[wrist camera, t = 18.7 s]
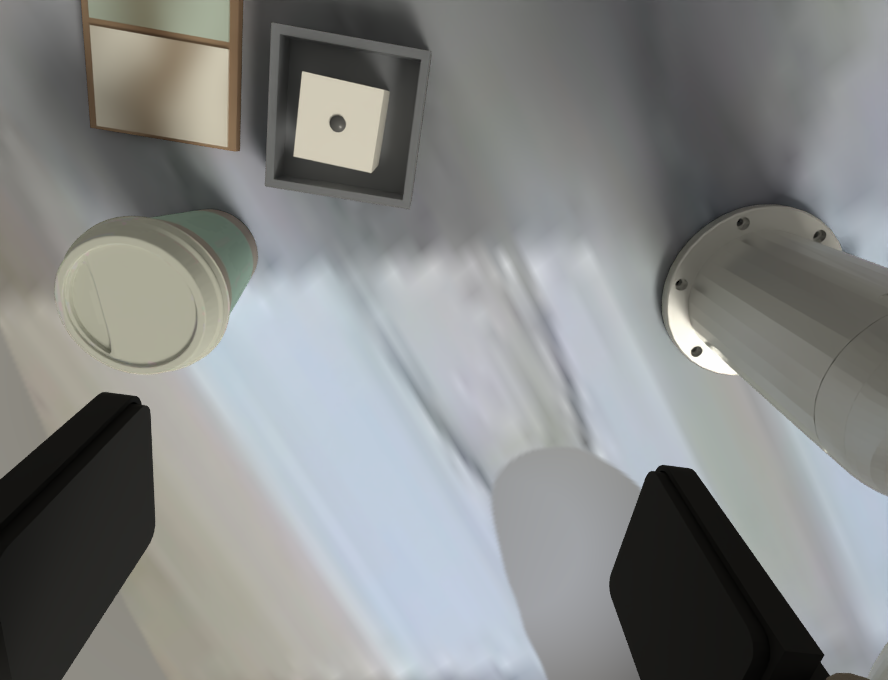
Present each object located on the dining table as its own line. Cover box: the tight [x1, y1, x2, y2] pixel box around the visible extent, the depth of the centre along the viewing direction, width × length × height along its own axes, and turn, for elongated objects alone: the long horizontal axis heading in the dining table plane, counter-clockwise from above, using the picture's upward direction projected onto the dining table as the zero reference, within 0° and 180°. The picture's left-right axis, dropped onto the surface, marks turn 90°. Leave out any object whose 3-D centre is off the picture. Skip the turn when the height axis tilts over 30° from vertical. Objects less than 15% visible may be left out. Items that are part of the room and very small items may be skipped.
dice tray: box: [265, 22, 431, 209], centre depth 35 cm, size 9×9×3 cm
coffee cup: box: [54, 209, 258, 375], centre depth 34 cm, size 9×8×12 cm
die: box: [294, 71, 390, 173], centre depth 34 cm, size 5×5×5 cm
